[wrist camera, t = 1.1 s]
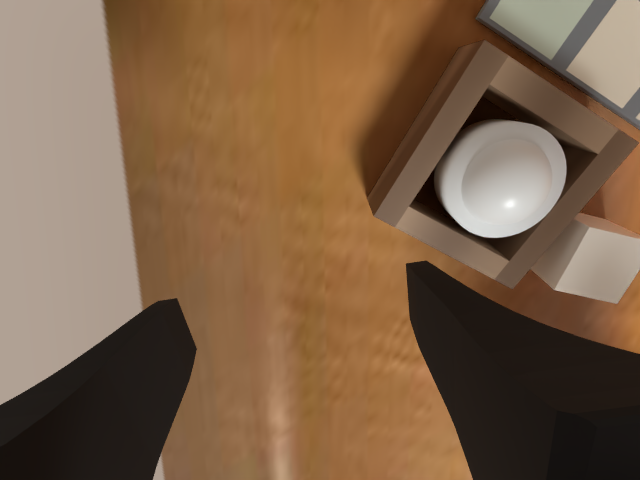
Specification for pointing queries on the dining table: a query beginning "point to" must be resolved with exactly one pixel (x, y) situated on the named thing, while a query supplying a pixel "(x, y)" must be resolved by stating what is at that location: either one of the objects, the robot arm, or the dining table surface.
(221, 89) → the dining table surface
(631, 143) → the dome housing
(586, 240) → the white cube
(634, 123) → the track
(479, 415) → the robot arm
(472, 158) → the dome
